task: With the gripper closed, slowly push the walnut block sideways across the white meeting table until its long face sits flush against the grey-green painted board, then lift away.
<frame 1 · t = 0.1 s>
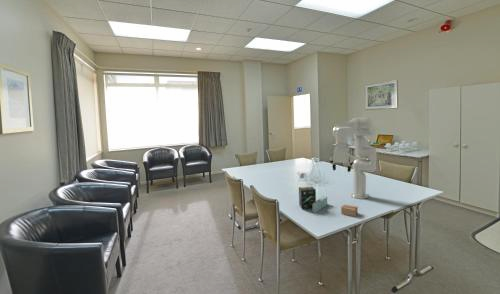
hand: (341, 170, 164), 31 cm above the table, fingers open, 9 cm apart
tampon box: (307, 206, 185), on the table
board: (320, 207, 181), on the table
block: (349, 213, 169), on the table
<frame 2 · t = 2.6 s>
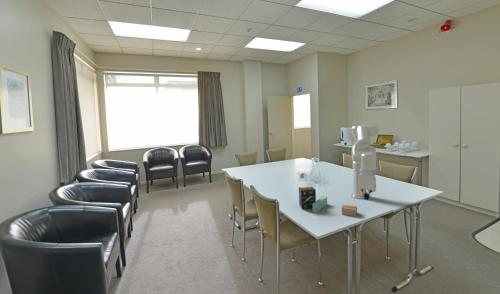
hand: (366, 199, 160), 13 cm above the table, fingers closed
nothing on the table moved.
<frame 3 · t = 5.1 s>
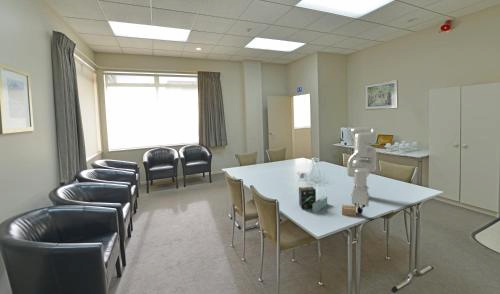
hand: (359, 213, 164), 2 cm above the table, fingers closed
block: (349, 213, 169), on the table, touching gripper
everything else where it was.
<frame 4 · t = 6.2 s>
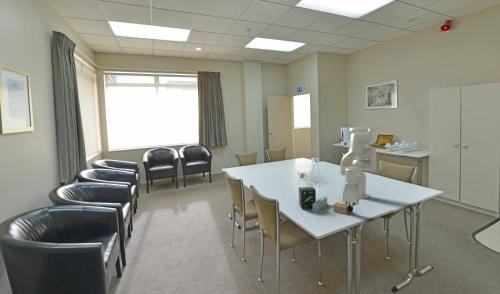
hand: (350, 211, 168), 2 cm above the table, fingers closed
block: (341, 211, 174), on the table
everything else where it was.
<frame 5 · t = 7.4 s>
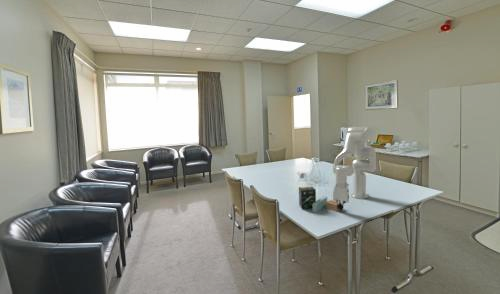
hand: (340, 209, 172), 2 cm above the table, fingers closed
block: (334, 208, 179), on the table
everything else where it was.
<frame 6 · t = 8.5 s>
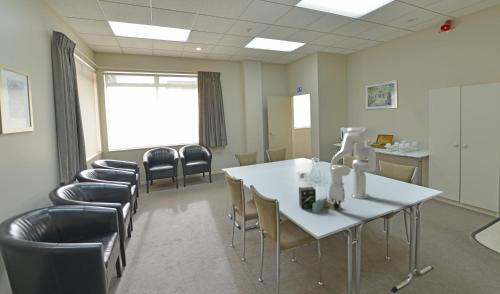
hand: (336, 208, 174), 2 cm above the table, fingers closed
block: (332, 207, 182), on the table
everything else where it was.
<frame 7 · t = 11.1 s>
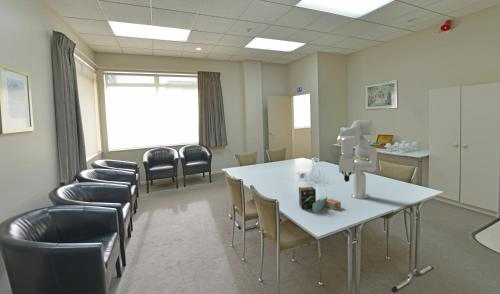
hand: (346, 181, 167), 23 cm above the table, fingers closed
nothing on the table moved.
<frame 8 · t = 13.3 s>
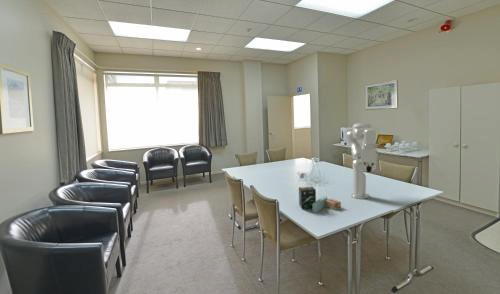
hand: (368, 171, 174), 27 cm above the table, fingers closed
nothing on the table moved.
at the end: block inside the target area on the table beside the board (6.5 cm from its centre), on the table; block tilted 0° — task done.
